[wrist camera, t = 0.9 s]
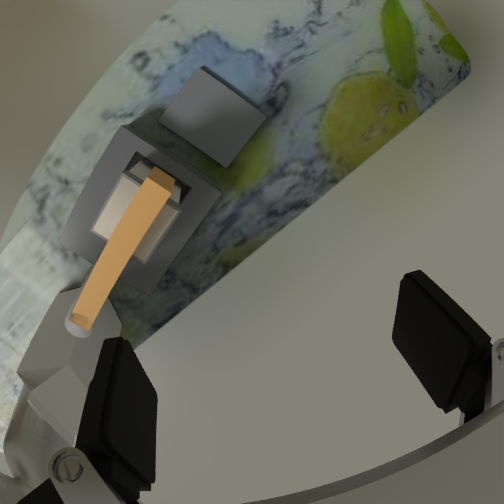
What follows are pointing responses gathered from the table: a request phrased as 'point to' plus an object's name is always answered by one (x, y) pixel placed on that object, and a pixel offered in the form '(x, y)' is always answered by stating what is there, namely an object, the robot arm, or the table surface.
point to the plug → (122, 199)
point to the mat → (212, 117)
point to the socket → (101, 184)
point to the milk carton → (64, 364)
